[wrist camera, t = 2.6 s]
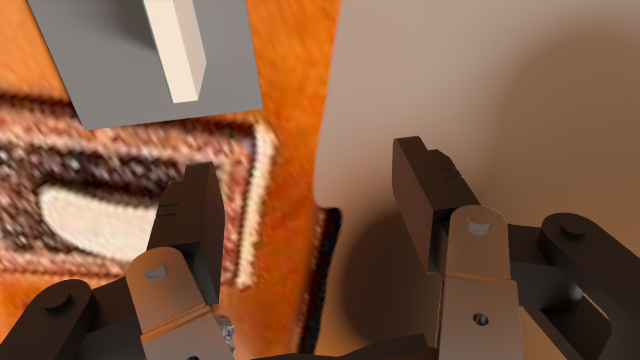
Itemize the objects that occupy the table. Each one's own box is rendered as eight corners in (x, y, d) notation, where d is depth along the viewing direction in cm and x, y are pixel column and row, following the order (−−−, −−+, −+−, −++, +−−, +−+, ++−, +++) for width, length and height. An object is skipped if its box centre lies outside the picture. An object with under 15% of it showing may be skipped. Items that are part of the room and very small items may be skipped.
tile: (158, -31, 27) (138, -7, 22) (184, -33, 27) (170, -10, 22) (183, 64, 31) (171, 103, 26) (206, 62, 31) (197, 100, 26)
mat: (-10, -96, 25) (-14, -95, 24) (226, -117, 25) (226, -117, 25) (86, 127, 33) (84, 130, 32) (262, 105, 34) (263, 108, 33)
